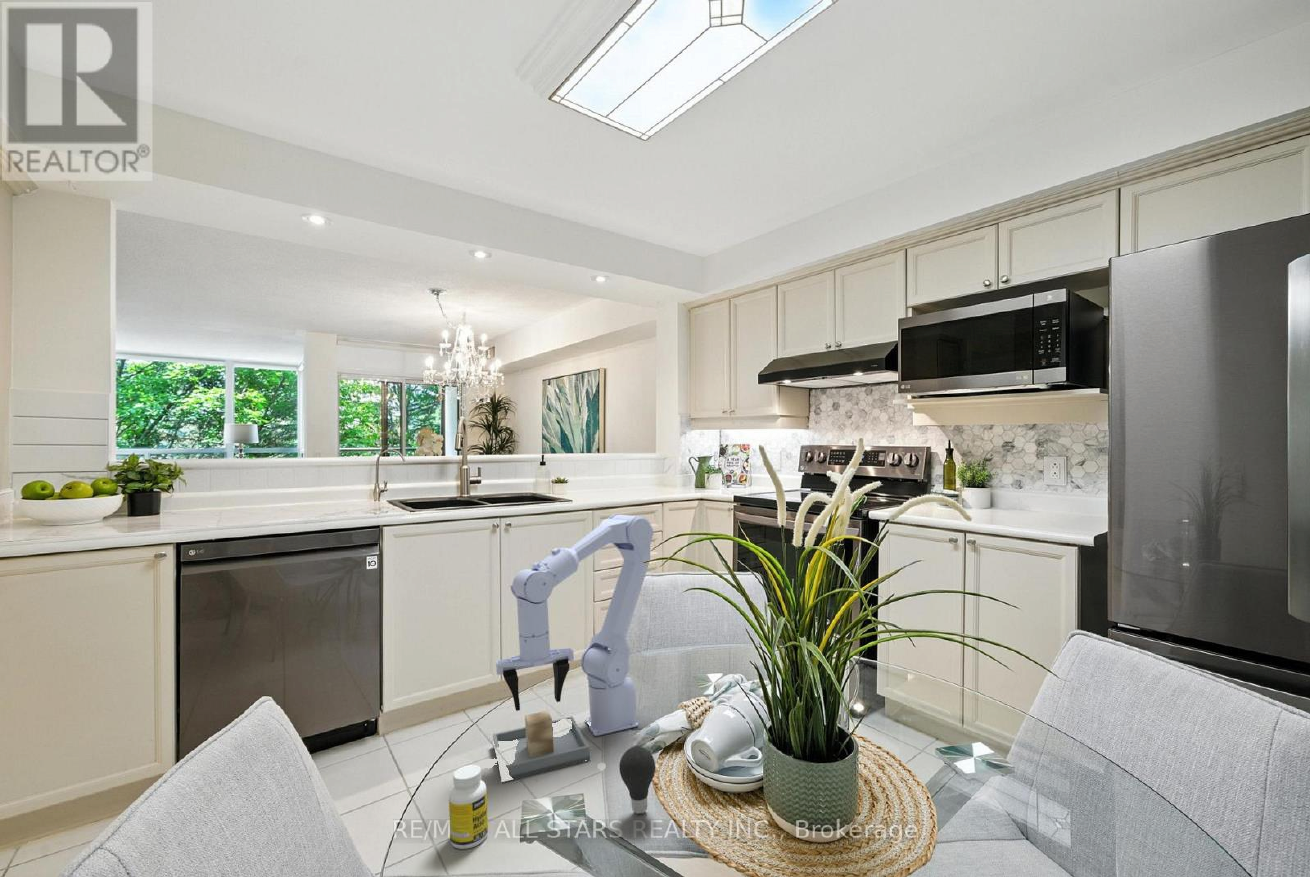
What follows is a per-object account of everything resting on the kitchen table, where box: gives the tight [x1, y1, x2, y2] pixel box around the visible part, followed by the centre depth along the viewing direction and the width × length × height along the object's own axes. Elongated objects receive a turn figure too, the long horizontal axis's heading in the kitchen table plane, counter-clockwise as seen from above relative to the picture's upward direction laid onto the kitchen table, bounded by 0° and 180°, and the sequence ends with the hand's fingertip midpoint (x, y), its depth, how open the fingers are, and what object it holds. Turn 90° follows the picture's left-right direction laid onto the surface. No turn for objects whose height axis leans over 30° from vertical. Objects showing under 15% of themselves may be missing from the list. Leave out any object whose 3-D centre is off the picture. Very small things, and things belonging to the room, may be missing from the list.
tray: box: [492, 715, 591, 781], centre depth 109 cm, size 16×14×2 cm
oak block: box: [524, 710, 554, 758], centre depth 109 cm, size 4×4×6 cm
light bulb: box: [618, 745, 656, 815], centre depth 89 cm, size 6×6×10 cm
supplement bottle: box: [448, 764, 489, 850], centre depth 85 cm, size 5×5×10 cm
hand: (537, 704), depth 109 cm, fingers open, 7 cm apart
